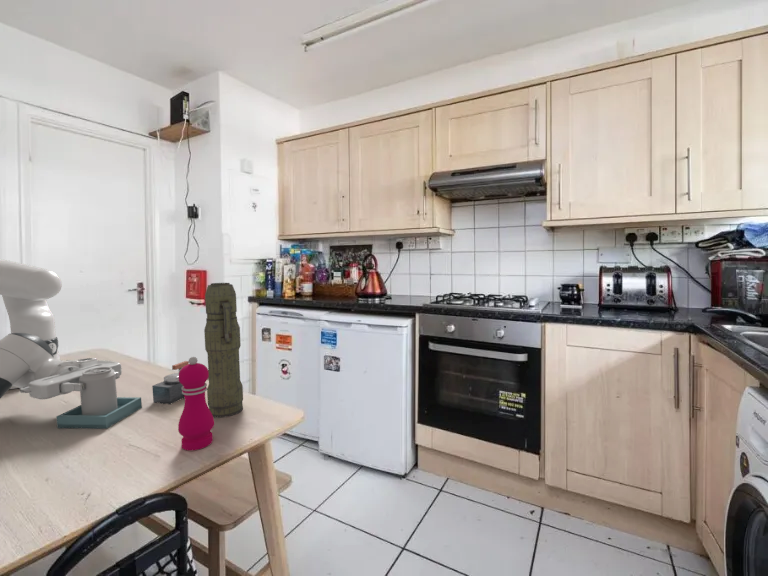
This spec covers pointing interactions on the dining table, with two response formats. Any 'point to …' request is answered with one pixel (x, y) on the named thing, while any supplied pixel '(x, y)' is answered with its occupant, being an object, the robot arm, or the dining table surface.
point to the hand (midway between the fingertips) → (100, 381)
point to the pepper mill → (195, 407)
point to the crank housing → (169, 387)
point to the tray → (78, 420)
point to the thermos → (223, 351)
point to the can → (98, 391)
